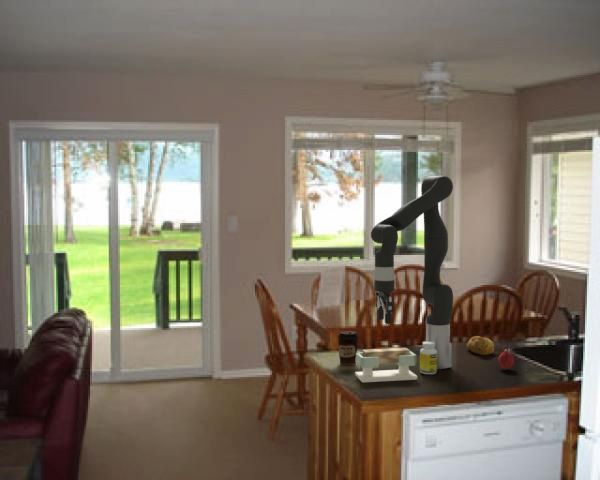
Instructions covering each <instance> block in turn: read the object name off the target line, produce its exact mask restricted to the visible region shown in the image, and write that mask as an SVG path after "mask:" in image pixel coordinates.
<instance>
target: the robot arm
mask: <svg viewBox="0 0 600 480" xmlns="http://www.w3.org/2000/svg"><path fill="white" fill-rule="evenodd" d="M420 186H421V187H420V188H421V189H420V192H421V195H420V196H418V197H416V198H415V199H413V200H410V201H408V202H407V203H405V204H404V205H402V206H401V207H400V208H398V209H397V211H395V212H394V213H393V214H392V215H391V216H389V217H387V218H385V219H384V220H381V221H380V222H378V223H377V224H376V225H374V226H373V227H372V229H371V232H370V239H372V241H373V242H375V244H381V246H380V247H381V248H380V250H376V252H375V254H374V270H373V273H374V274H373V276H374V279H373V281H374V282H373V283H374V285H373V290H374V291H375V308H376V309H377V320H378V321H382V320H384V324H385V325H391V324H392V314H393V313H394V312H395V311H394V310H395V307H394V304H395V303H394V302H395V301H394V296H391V293H394V291H395V286H396V285H395V274H396V273H395V267H394V266H395V258H394V257H395V253H396V249H397V245H398V241H399V233H398V232H403V231H404V230H405V229H406V228H408V227H409V226H410V225H411V224H412V223H413V222H415V220H416V219H418V218H419V217H421V216H423V251H424V255H423V257H424V261H423V262H424V266H423V267H424V268H423V272H424V273H423V281H422V282H423V283H422V298H423V300H424V302H425V303H426V304H428V305H430V306H432V313H430V314H427V315H426V319H425V320H426V321H425V342H426V341H429V342H434V343H435V347H434V349H436V350H437V370H442V369H448V368H452V352H453V349H452V345H453V344H452V342H451V338H450V337H451V329H450V328H451V319H452V317H453V310H454V309H453V308H454V292H453V289H452V287H451V286H450V285H449V284H445V283H441V267H442V265H443V263H444V260H445V258H446V257H447V253H448V249H449V235H448V233H449V232H448V230H447V227H446V224H445V223H444V220H443V218H442V217H441V214H440V211H439V203H441V202H442V201H444V200H445V199H447V198H448V197H450V196H451V195H452V193H453V189H454V183H453V180H451V178H450V177H448V176H446V175H430V176H425V178H423V180H422V182H421V185H420Z"/></svg>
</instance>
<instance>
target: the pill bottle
mask: <svg viewBox="0 0 600 480" xmlns="http://www.w3.org/2000/svg"><path fill="white" fill-rule="evenodd" d="M434 347H435V343H434V342H429V341H426V340H425V341H422V348H420V350H419V372H420V373H421V374H424V375H435V374H436V373H437V372H438V369H437V350H436V349H434Z"/></svg>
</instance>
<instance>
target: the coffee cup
mask: <svg viewBox="0 0 600 480" xmlns="http://www.w3.org/2000/svg"><path fill="white" fill-rule="evenodd" d="M337 340H338V341H337V342H338V353H339V354H338V355H339V364H340V365H342V366H355V365H356V364H357V361H356V353H358V341H359V335H358V332H357V331H353V330H346V331H345V330H344V331H340V332H339V333H338V335H337Z"/></svg>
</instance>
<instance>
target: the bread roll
mask: <svg viewBox="0 0 600 480" xmlns="http://www.w3.org/2000/svg"><path fill="white" fill-rule="evenodd" d="M466 348H467V350H468V351H470V352H472V353H473V354H475V355H480V356H487V355H491V354H493V352H495V344H494V342H493V341H492V340H491V339H490V338H486V337H482V336H480V335H479V336H478V335H475V336H472V337H471V338H470V339H469V340H468V342H467V343H466Z"/></svg>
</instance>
